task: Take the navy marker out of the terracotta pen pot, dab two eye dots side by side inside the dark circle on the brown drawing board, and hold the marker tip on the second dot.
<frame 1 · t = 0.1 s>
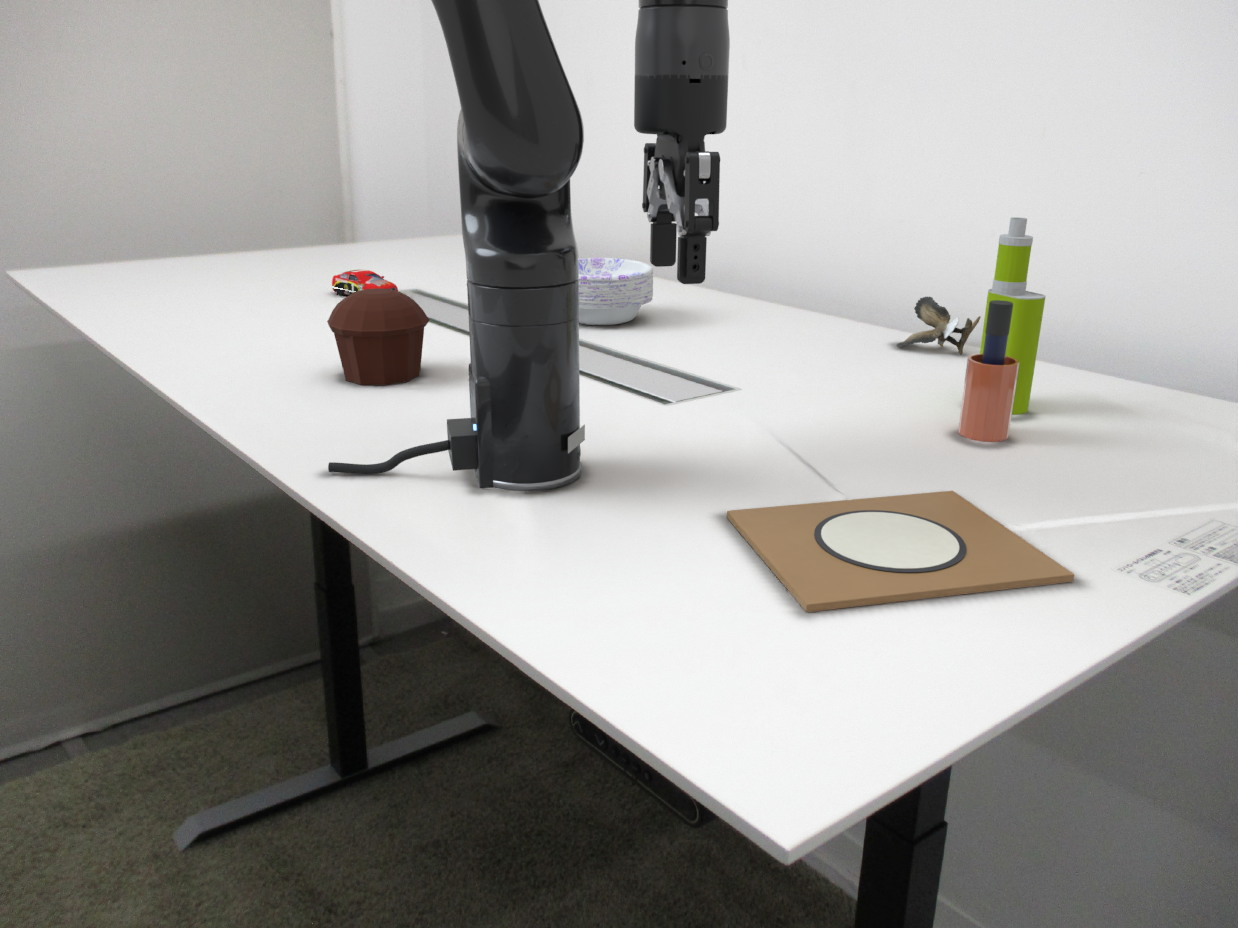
hand: (676, 274, 86), 17 cm above the table, tool pointing down, fingers open, 8 cm apart
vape: (998, 412, 108), on the table
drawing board: (888, 547, 75), on the table
race car: (365, 297, 165), on the table
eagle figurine: (933, 350, 133), on the table
marker: (983, 433, 99), resting on pen pot
muffin: (383, 376, 120), on the table
paper bowls: (601, 320, 149), on the table
pen pot: (982, 438, 99), on the table
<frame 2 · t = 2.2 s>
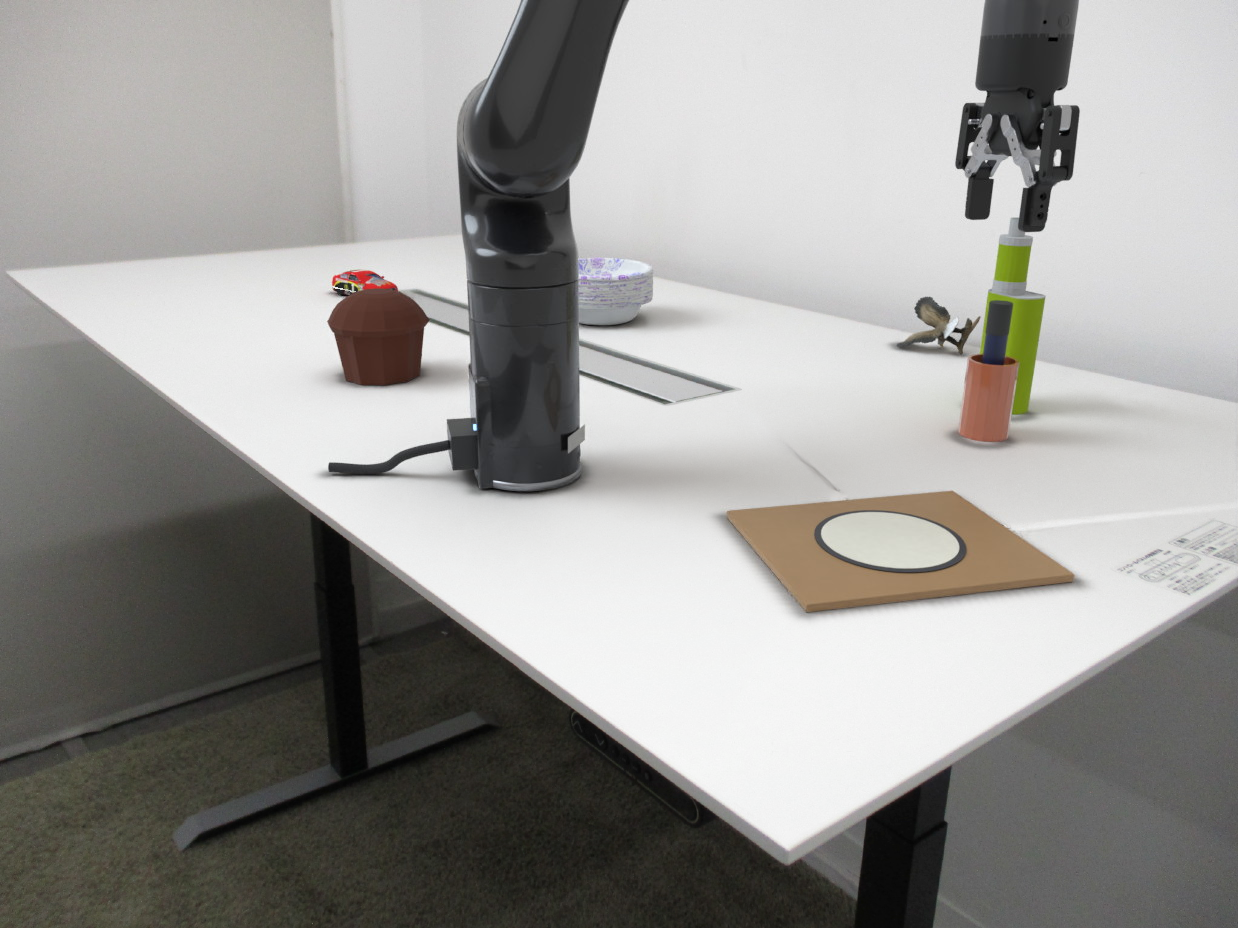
hand: (1002, 225, 92), 21 cm above the table, tool pointing down, fingers open, 8 cm apart
nothing on the table moved.
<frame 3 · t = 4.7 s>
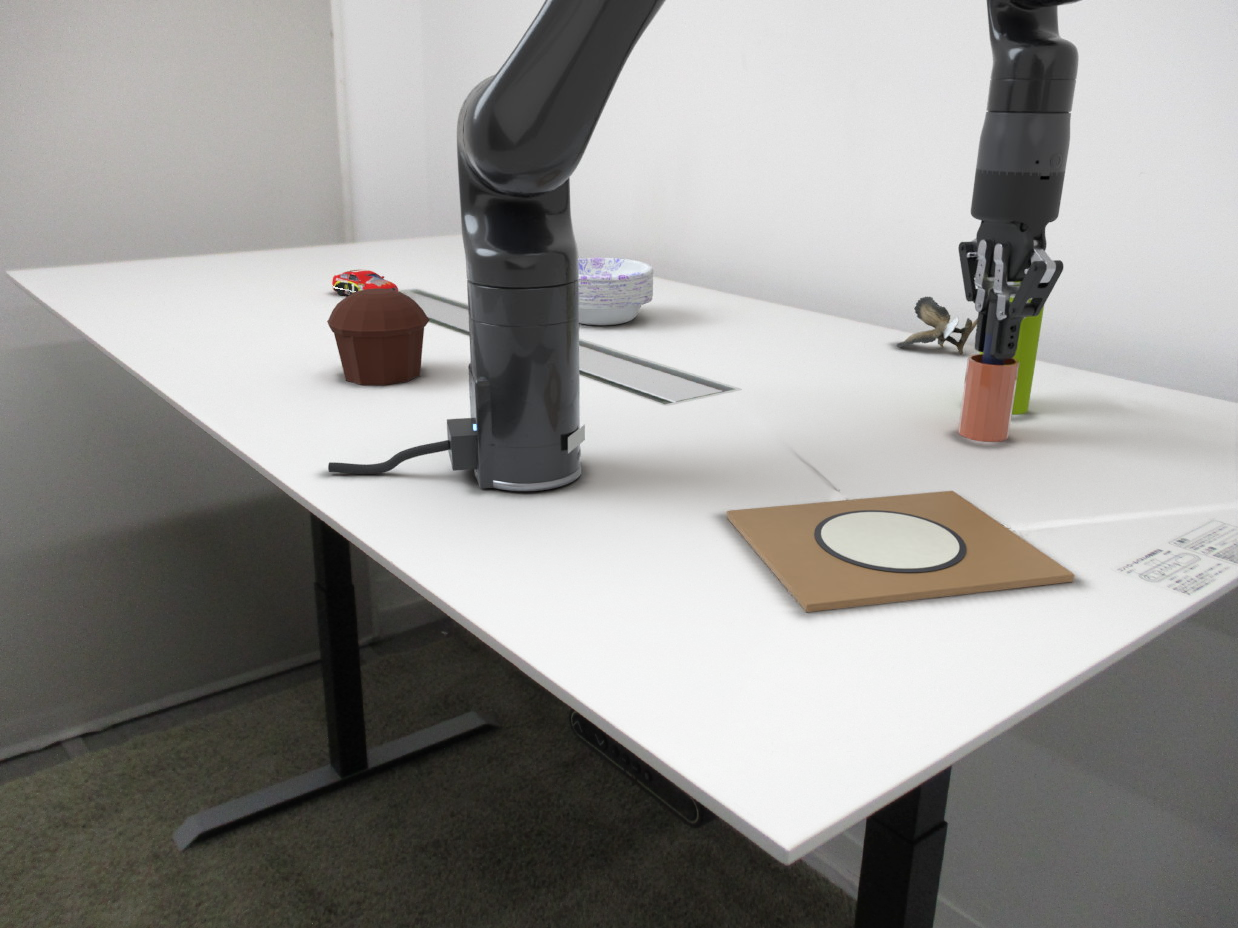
hand: (994, 353, 96), 9 cm above the table, tool pointing down, fingers closed on marker, 2 cm apart
marker: (982, 433, 99), point 1 cm above the table, touching gripper
everything else where it was.
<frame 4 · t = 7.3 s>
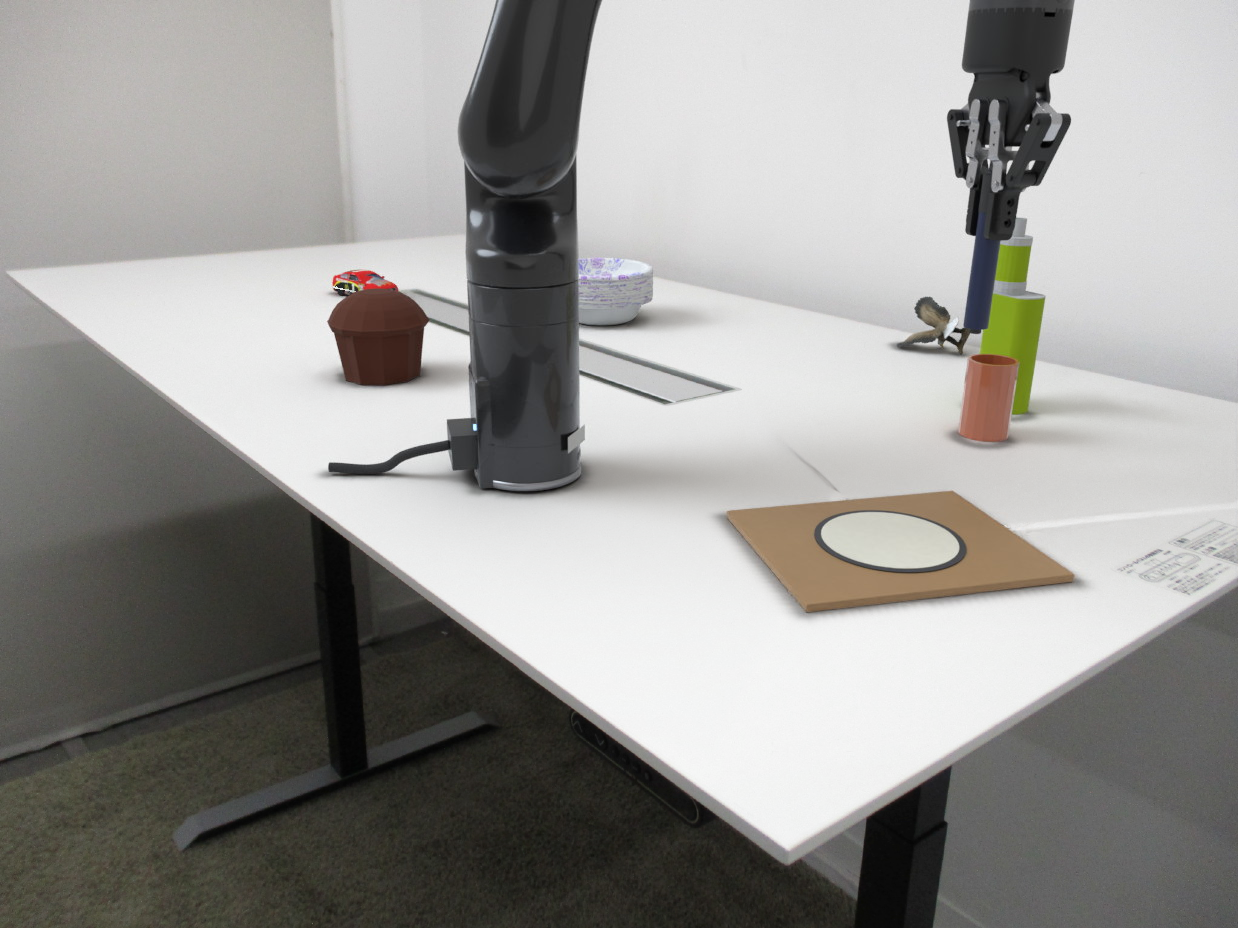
hand: (988, 236, 83), 21 cm above the table, tool pointing down, fingers closed on marker
marker: (974, 333, 86), point 13 cm above the table, touching gripper
everything else where it was.
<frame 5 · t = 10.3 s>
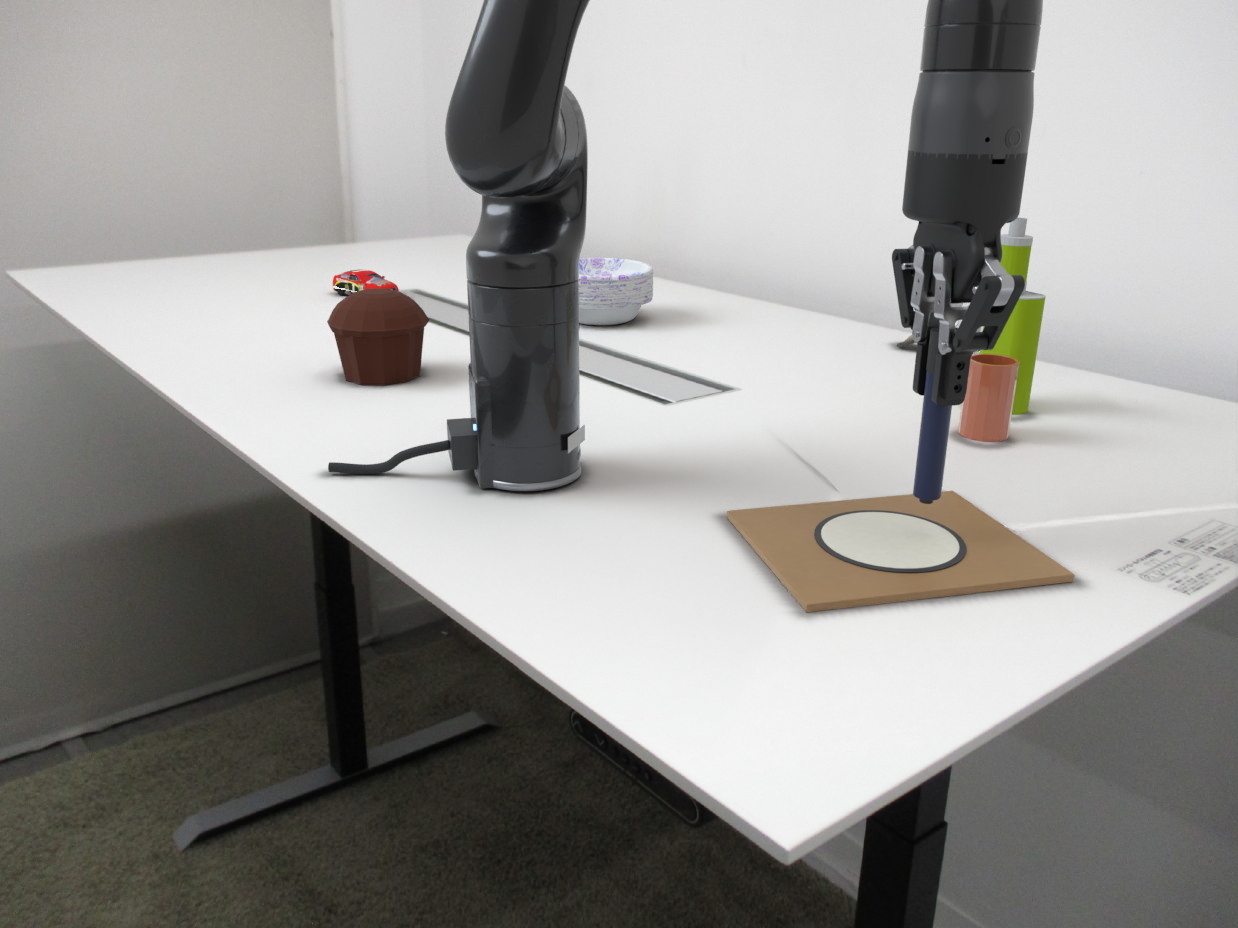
hand: (937, 398, 72), 11 cm above the table, tool pointing down, fingers closed on marker, 2 cm apart
marker: (926, 501, 75), point 3 cm above the table, touching gripper
everything else where it was.
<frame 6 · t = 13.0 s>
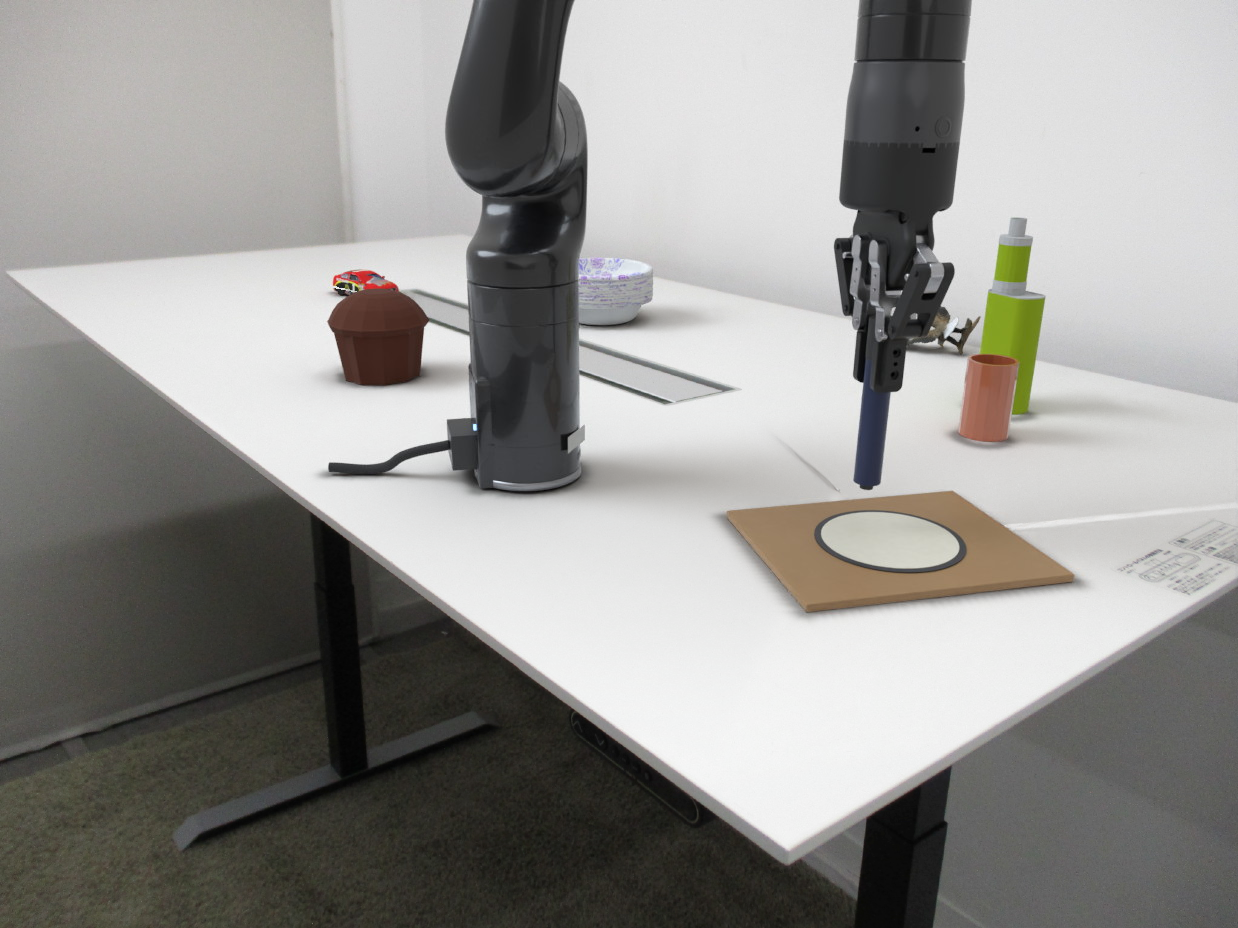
hand: (876, 385, 73), 12 cm above the table, tool pointing down, fingers closed on marker
marker: (866, 487, 76), point 4 cm above the table, touching gripper
everything else where it was.
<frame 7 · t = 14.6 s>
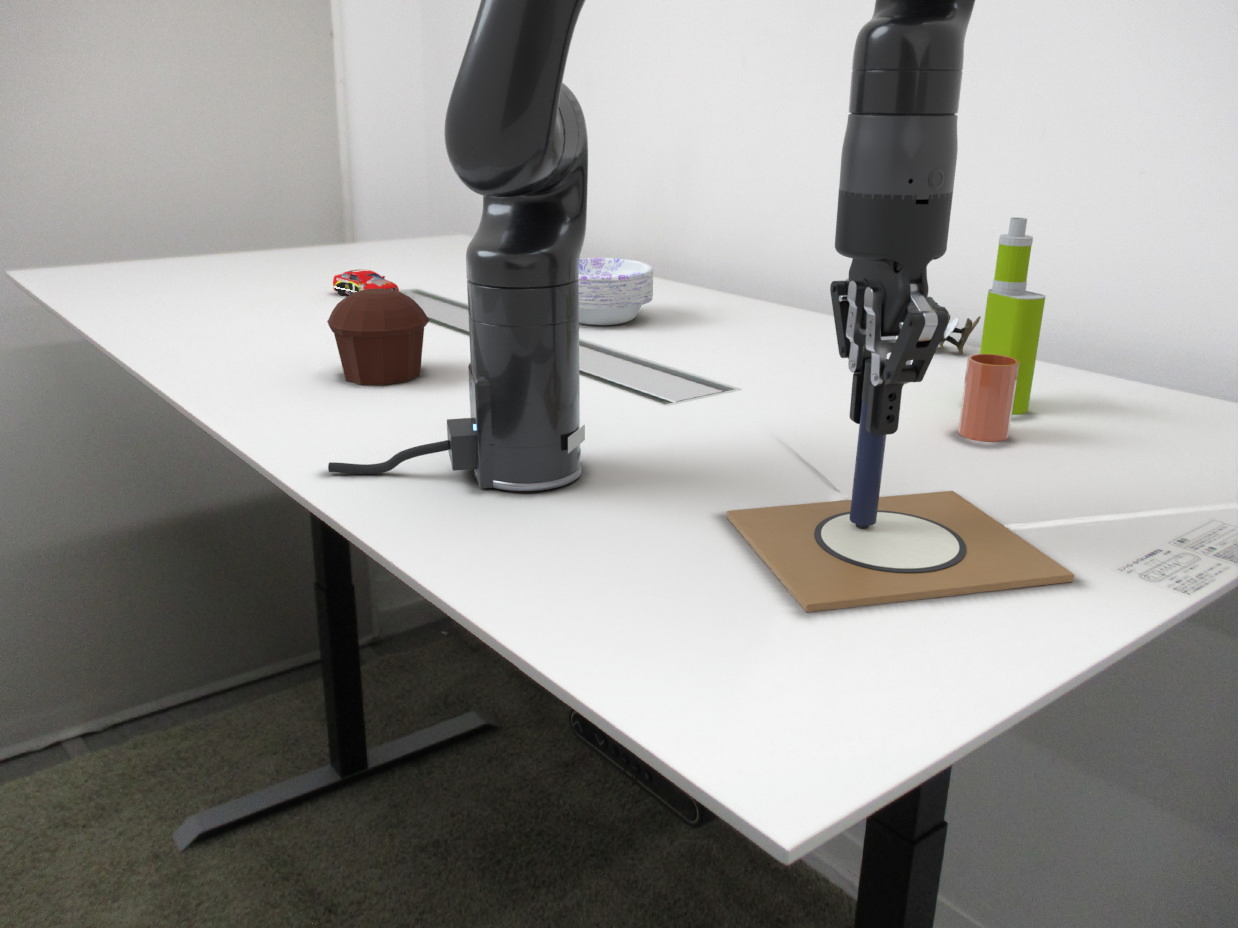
hand: (873, 426, 74), 9 cm above the table, tool pointing down, fingers closed on marker, 2 cm apart
marker: (862, 526, 77), point 1 cm above the table, touching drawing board, gripper
everything else where it was.
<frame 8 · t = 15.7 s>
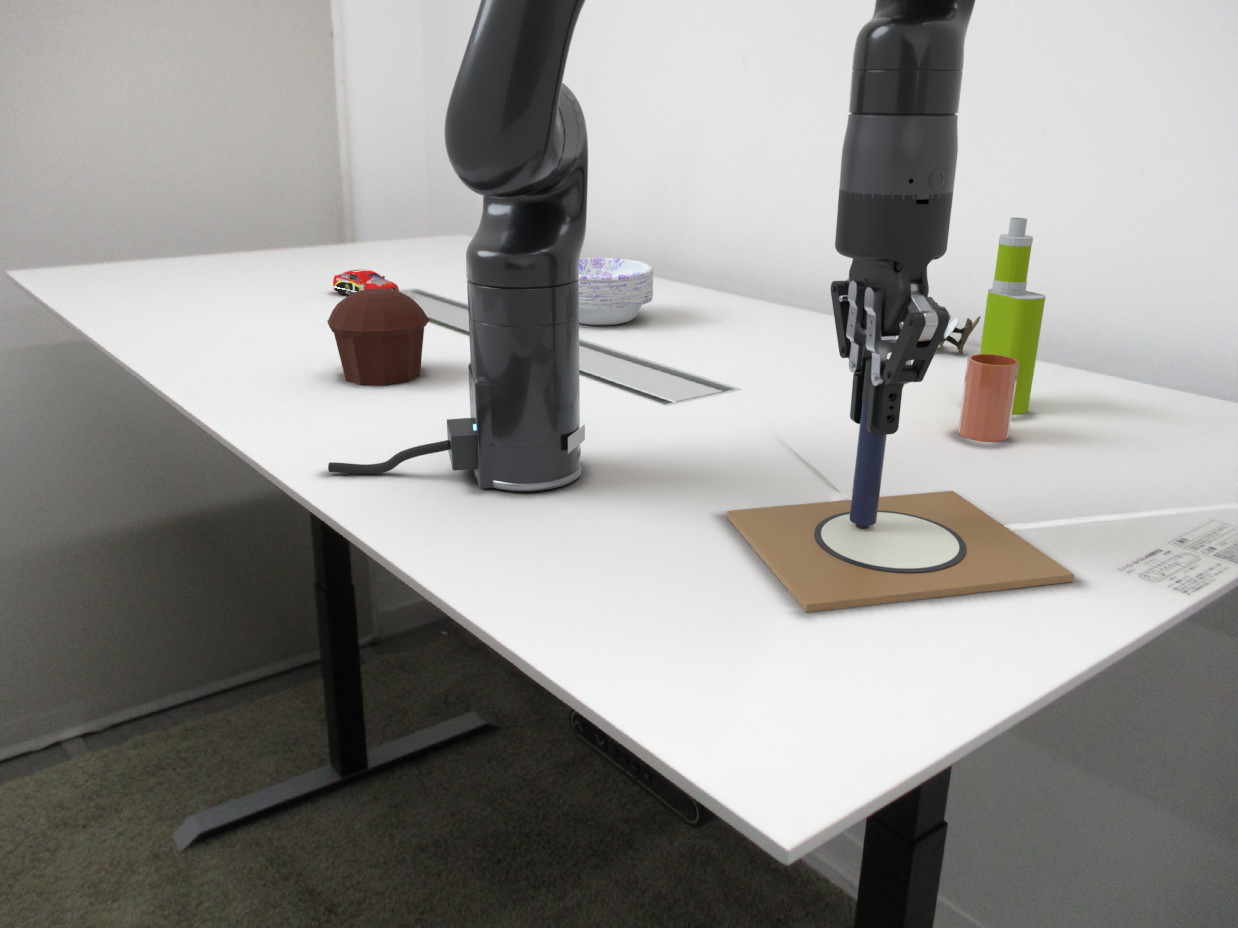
hand: (873, 426, 74), 9 cm above the table, tool pointing down, fingers closed on marker, 2 cm apart
marker: (862, 526, 77), point 1 cm above the table, touching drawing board, gripper
everything else where it was.
at the end: the gripper is holding marker; marker inside the target area on the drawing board (2.6 cm from its centre), point 0.8 cm above the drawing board's base; marker tilted 1° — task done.
